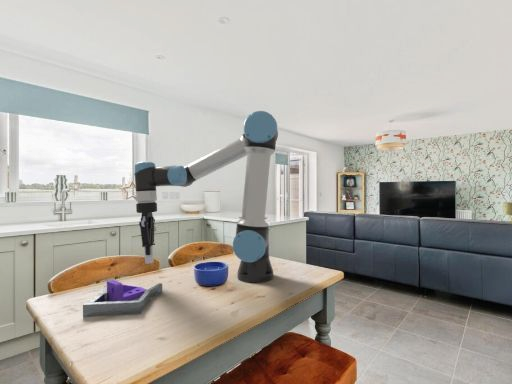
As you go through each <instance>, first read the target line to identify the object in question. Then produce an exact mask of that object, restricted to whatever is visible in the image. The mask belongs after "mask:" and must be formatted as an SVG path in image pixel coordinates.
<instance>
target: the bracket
mask: <svg viewBox="0 0 512 384" xmlns="http://www.w3.org/2000/svg"><path fill="white" fill-rule="evenodd" d="M106 285H107V302H114V301H137V300H139V299H140V297H141V296H142V295H143V294H144V291H146V290H148V289H146V288H144V287H140V286H135V285H129V284H123V283H122V282H120V281H117V280H115V279H111V280H106Z"/></svg>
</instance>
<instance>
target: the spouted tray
mask: <svg viewBox="0 0 512 384" xmlns="http://www.w3.org/2000/svg"><path fill="white" fill-rule="evenodd" d="M161 293H163V283H160V282H159V283H157V284H156V285H153V286H151V287H150V288H148V289H147V290H146V291H144V294H143V295H142V296H141V297H140V298H139V299H136V300H133V301H114V302H108V301H107V284H106V285H104V286H103V290H102V293H98V294H97V295H96V296H94V298H92V299H91V300H89V301H88V302H84V304H82V317H83V318H87V317H89V318H90V317H104V316H105V317H108V316H109V317H110V316H130V315H131V316H132V315H141V313H142V312H143V311H144V310H145V308H146V307H147V305H148V304H149V303H150V302H151V299H152V298H154V297H156V296H158V295H159V294H161Z"/></svg>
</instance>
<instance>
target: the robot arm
mask: <svg viewBox="0 0 512 384" xmlns="http://www.w3.org/2000/svg"><path fill="white" fill-rule="evenodd" d="M278 136H279V131H278V122H277V120H276V118H275V117H274V116H273V115H272V114H271V113H270V112H267V111H265V110H264V111H263V110H257V111H253V112H252V113H250V114H249V115H248V116H247V117H246V118H245V120H244V123H243V134H242V135H241V136H240V138H238V139H236V140H234V141H232V142H230V143H228V144H227V145H224V146H222V147H220V148H218V149H216V150H214V151H212V152H210V153H208V154H206V155H204V156H202V157H201V158H199V159H196V160H195V161H193V162H191V163H189V164H187V165H185V166H183V165H170V166H169V165H167V166H166V165H165V166H156V164H155V162H153V161H140V162H136V163H135V164H134V183H135V194H134V197H135V201H136V204H135V207H136V213H138V214H141V217H140V221H139V222H138V224H139V228H140V229H139V230H140V236H141V243H142V244H141V247H142V248H144V263H145V264H153V263H154V246H155V245H156V243H155V223H156V219H155V217H154V216H153V213H156V212H158V203H157V202H156V201H157V200H158V199H157V198H158V197H157V187H167V186H168V187H183V188H185V187H190V186H191V185H192V184H193V183H195V182H196V181H198V180H200V179H201V178H204V177H206V176H208V175H210V174H212V173H214V172H217V171H218V170H220V169H222V168H224V167H227V166H228V165H230V164H233V163H234V162H236V161H238V160H241V159H242V158H244V157H246V165H245V166H246V167H245V174H244V175H245V176H244V177H245V178H244V187H243V197H242V207H241V208H242V210H241V218H240V219H239V220H237V221H236V228H235V229H236V231H235V236H234V238H233V241H232V250H233V254H234V255H235V256H236V257H237V259H239V260H240V261H239V262H240V263H239V266H238V269H237V272H236V273H237V279H238V280H239V281H242V282H245V283H264V282H265V283H266V282H269V281H272V279H274V275H275V274H274V269H273V266H272V264H271V261H270V236H269V235H270V227H269V225H270V224H269V223H268V222H267V221H266V220H265V219H266V218H265V217H266V211H267V210H266V208H267V207H266V206H267V196H268V186H269V174H270V164H271V156H272V155H273V154H275V152H276V146H277V145H276V144H277V141H278V138H279V137H278Z"/></svg>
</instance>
